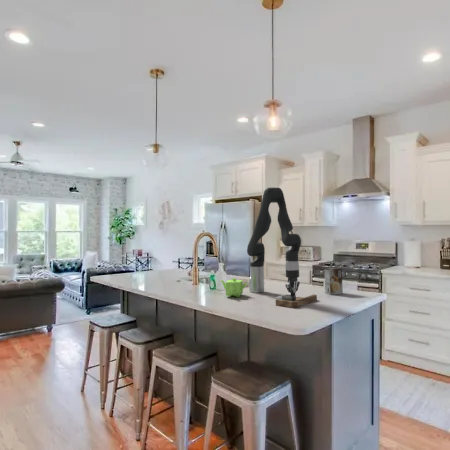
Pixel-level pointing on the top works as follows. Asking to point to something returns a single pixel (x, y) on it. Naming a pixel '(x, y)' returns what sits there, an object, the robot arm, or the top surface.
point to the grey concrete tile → (279, 297)
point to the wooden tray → (299, 301)
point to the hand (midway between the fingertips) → (293, 299)
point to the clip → (289, 297)
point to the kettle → (234, 287)
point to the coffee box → (333, 281)
